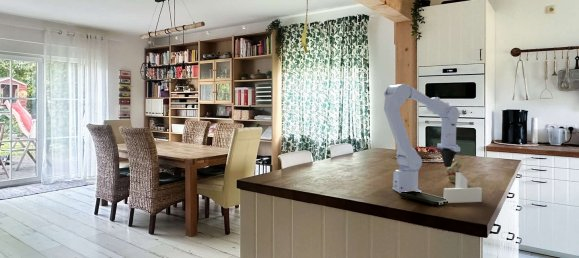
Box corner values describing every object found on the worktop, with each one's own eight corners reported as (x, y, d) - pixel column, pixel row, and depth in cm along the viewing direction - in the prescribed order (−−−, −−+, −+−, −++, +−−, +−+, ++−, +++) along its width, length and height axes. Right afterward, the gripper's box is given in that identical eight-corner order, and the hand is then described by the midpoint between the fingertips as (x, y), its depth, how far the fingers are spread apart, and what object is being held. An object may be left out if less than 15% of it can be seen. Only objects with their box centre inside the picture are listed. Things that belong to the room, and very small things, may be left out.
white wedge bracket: (449, 193, 140) (455, 172, 143) (460, 202, 146) (466, 182, 148) (459, 195, 138) (465, 173, 140) (469, 204, 143) (475, 183, 146)
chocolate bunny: (449, 180, 178) (450, 159, 177) (467, 182, 173) (467, 160, 172) (445, 181, 174) (446, 160, 173) (463, 184, 169) (464, 162, 168)
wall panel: (445, 202, 136) (445, 189, 136) (442, 201, 138) (443, 188, 137) (481, 201, 138) (481, 188, 137) (478, 200, 139) (478, 187, 139)
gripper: (467, 135, 151) (466, 169, 152) (448, 133, 165) (447, 163, 166) (451, 136, 150) (450, 169, 151) (433, 133, 165) (432, 164, 165)
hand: (447, 166), depth 159 cm, fingers closed
